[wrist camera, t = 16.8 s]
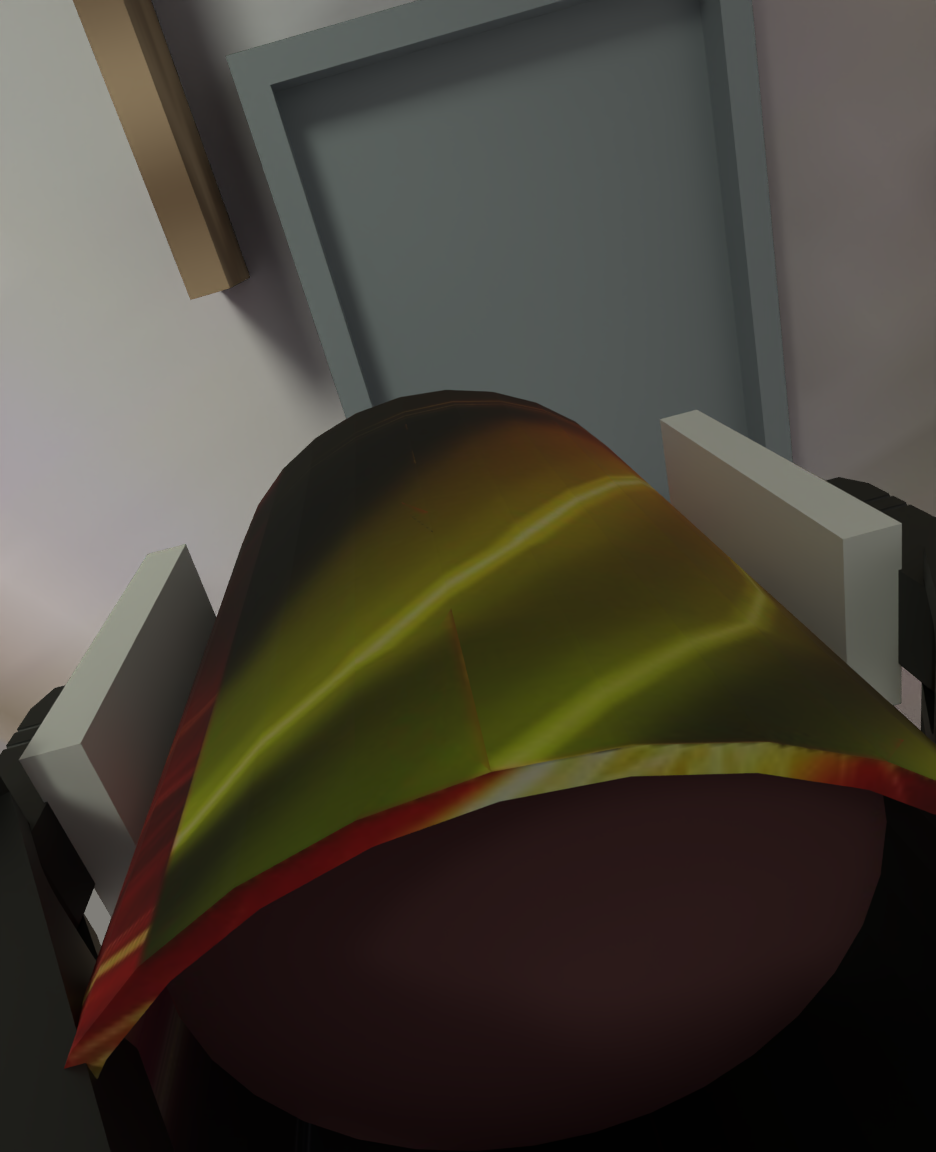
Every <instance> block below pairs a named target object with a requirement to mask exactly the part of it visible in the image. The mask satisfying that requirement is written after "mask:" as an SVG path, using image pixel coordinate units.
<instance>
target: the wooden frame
mask: <svg viewBox="0 0 936 1152" xmlns="http://www.w3.org/2000/svg"><path fill="white" fill-rule="evenodd" d="M73 2H74V4H75V7H76V10H77V12H78V15H79V17H80V20H81V22H82V25H83V27H84V30H85V32H86V35H87V38H88V40H89V43H90V45H91V48H92V50H93V53H94V55H95V58H96V60H97V63H98V66H99V68H100V71H101V73H102V76H103V78H104V81H105V83H106V86H107V88H108V91H109V93H110V96H111V99H112V101H113V104H114V106H115V109H116V111H117V114H118V116H119V119H120V121H121V124H122V127H123V129H124V132H125V134H126V137H127V139H128V142H129V144H130V147H131V149H132V152H133V155H134V157H135V160H136V162H137V165H138V167H139V170H140V172H141V175H142V177H143V180H144V183H145V185H146V188H147V190H148V193H149V195H150V198H151V200H152V203H153V205H154V208H155V211H156V213H157V216H158V218H159V221H160V223H161V226H162V228H163V231H164V233H165V236H166V238H167V241H168V244H169V246H170V249H171V251H172V254H173V256H174V259H175V261H176V264H177V266H178V269H179V272H180V274H181V277H182V279H183V282H184V284H185V287H186V289H187V292H188V294H189V297H190V300H191V299H195V298H198V297H202V296H205V295H209V294H212V293H215V292H219V291H222V290H226V289H229V288H231V287H233V286H235V285H237V284H239V283H241V282H242V281H244V280H246V279H248V278H250V275H249V273H248V270H247V267H246V264H245V261H244V259H243V256H242V253H241V250H240V247H239V245H238V242H237V239H236V236H235V233H234V231H233V228H232V225H231V222H230V220H229V217H228V214H227V211H226V208H225V206H224V203H223V200H222V197H221V194H220V192H219V189H218V186H217V183H216V180H215V178H214V175H213V172H212V169H211V166H210V164H209V161H208V158H207V155H206V153H205V150H204V147H203V144H202V141H201V139H200V136H199V133H198V130H197V127H196V125H195V122H194V119H193V116H192V113H191V111H190V108H189V105H188V102H187V99H186V97H185V94H184V91H183V88H182V85H181V83H180V80H179V77H178V74H177V72H176V69H175V66H174V63H173V60H172V58H171V55H170V52H169V49H168V46H167V44H166V41H165V38H164V35H163V32H162V30H161V27H160V24H159V21H158V18H157V16H156V13H155V10H154V7H153V4H152V2H151V0H73Z"/></svg>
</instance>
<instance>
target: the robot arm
mask: <svg viewBox="0 0 936 1152" xmlns="http://www.w3.org/2000/svg"><path fill="white" fill-rule="evenodd" d="M660 425H661V432H662V440H663V448H664V456H665V463H666V471H667V479H668V486H669V494H670V502H671V505H672V506H674V507H675V508H676V509H677V510H678V511H679V512H680V513H681V514H682V515H683V516H685V517H686V518H687V519H688V520H689V521H690V522H691V523H692V524H693V525H695V526H696V527H697V528H698V529H699V530H700V531H701V532H702V533H703V534H704V535H706V536H707V537H708V538H709V539H710V540H711V541H712V542H713V543H714V544H715V545H717V546H718V547H719V548H720V549H721V550H722V551H723V552H724V553H725V554H726V555H728V556H729V557H730V558H731V559H732V560H733V561H734V562H735V563H736V564H738V565H739V566H740V567H741V568H742V569H743V570H744V571H745V572H746V573H747V574H749V575H750V576H751V577H752V578H753V579H754V580H755V581H756V582H757V583H758V584H760V585H761V586H762V587H763V588H764V589H765V590H766V591H767V592H768V593H769V594H771V595H772V596H773V597H774V598H775V599H776V600H777V601H778V602H779V603H780V604H782V605H783V606H784V607H785V608H786V609H787V610H788V611H789V612H790V613H792V614H793V615H794V616H795V617H796V618H797V619H798V620H799V621H800V622H801V623H803V624H804V625H805V626H806V627H807V628H808V629H809V630H810V631H811V632H812V633H814V634H815V635H816V636H817V637H818V638H819V639H820V640H821V641H822V642H823V643H825V644H826V645H827V646H828V647H829V648H830V649H831V650H832V651H833V652H835V653H836V654H837V655H838V656H839V657H840V658H841V659H842V660H843V661H844V662H846V663H847V664H848V665H849V666H850V667H851V668H852V669H853V670H854V671H855V672H857V673H858V674H859V675H860V676H861V677H862V678H863V679H864V680H865V681H866V682H868V683H869V684H870V685H871V686H872V687H873V688H874V689H875V690H876V691H877V692H879V693H880V694H881V695H882V696H883V697H884V698H885V699H886V700H887V701H889V702H890V703H891V704H892V705H893V706H894V705H897V704H901V666H902V667H904V668H905V669H906V670H907V671H908V672H910V673H911V674H912V675H913V676H915V677H916V678H917V679H918V680H920V681H921V682H922V699H921V731H922V732H923V733H924V734H925V735H926V736H927V737H928V738H929V739H930V740H932V741H933V742H934V743H935V744H936V518H935V517H933V516H931V515H930V514H928V513H926V512H924V511H922V510H920V509H918V508H916V507H914V506H912V505H908V506H907V504H906V502H904V501H902V500H900V499H898V498H896V497H894V496H891V497H890V495H889V493H887V492H885V491H883V490H881V489H879V488H877V487H875V486H873V485H871V484H869V483H865V482H860V481H855V480H850V479H845V478H840V477H838V478H834V479H830V480H826V481H824V480H823V479H821V478H819V477H817V476H815V475H814V474H812V473H810V472H808V471H806V470H805V469H803V468H801V467H799V466H797V465H796V464H794V463H792V462H790V461H788V460H787V459H785V458H783V457H781V456H779V455H778V454H776V453H774V452H772V451H770V450H769V449H767V448H765V447H763V446H761V445H760V444H758V443H756V442H754V441H752V440H751V439H749V438H747V437H745V436H743V435H742V434H740V433H738V432H736V431H734V430H733V429H731V428H729V427H727V426H725V425H724V424H722V423H720V422H718V421H716V420H715V419H713V418H711V417H709V416H707V415H706V414H704V413H702V412H700V411H698V410H693V411H690V412H686V413H682V414H678V415H674V416H671V417H667V418H663V419H660ZM215 620H216V616H215V613H214V611H213V609H212V606H211V604H210V601H209V599H208V597H207V594H206V592H205V589H204V587H203V585H202V582H201V580H200V577H199V575H198V573H197V570H196V568H195V565H194V563H193V561H192V558H191V556H190V553H189V551H188V549H187V546H186V544H184V545H180V546H177V547H173V548H169V549H165V550H161V551H158V552H154V553H150V554H147V556H146V558H145V559H144V561H143V562H142V564H141V566H140V567H139V569H138V570H137V572H136V574H135V575H134V577H133V578H132V580H131V582H130V583H129V585H128V586H127V588H126V590H125V591H124V593H123V594H122V596H121V598H120V599H119V601H118V602H117V604H116V606H115V607H114V609H113V610H112V612H111V614H110V615H109V617H108V618H107V620H106V622H105V623H104V625H103V626H102V628H101V630H100V631H99V633H98V634H97V636H96V637H95V639H94V641H93V642H92V644H91V645H90V647H89V649H88V650H87V652H86V653H85V655H84V657H83V658H82V660H81V661H80V663H79V665H78V666H77V668H76V669H75V671H74V673H73V674H72V676H71V677H70V679H69V681H68V682H67V684H66V685H65V686H61V687H57V688H54V689H53V690H52V691H51V692H50V693H49V694H47V695H46V696H45V697H44V698H43V699H42V700H40V701H39V702H38V703H37V704H36V705H35V706H34V707H32V708H31V709H30V711H29V712H28V714H27V715H26V717H25V718H24V720H23V721H22V723H21V724H20V726H19V727H18V729H17V730H18V732H17V733H14V735H13V736H12V738H11V739H10V741H9V742H8V744H7V745H6V746H7V749H5V750H3V751H2V753H1V754H0V1152H175V1151H174V1148H173V1146H172V1143H171V1140H170V1137H169V1134H168V1132H167V1129H166V1126H165V1123H164V1120H163V1118H162V1115H161V1112H160V1109H159V1107H158V1104H157V1101H156V1098H155V1095H154V1093H153V1090H152V1087H151V1084H150V1082H149V1079H148V1076H147V1073H146V1070H145V1068H144V1065H143V1062H142V1059H141V1056H140V1054H139V1051H138V1049H137V1047H135V1046H134V1045H133V1044H132V1043H130V1042H129V1041H128V1040H127V1039H125V1038H123V1040H122V1041H121V1042H120V1043H119V1045H118V1046H117V1047H116V1048H115V1050H114V1051H113V1052H112V1053H111V1054H110V1056H109V1057H108V1058H107V1059H106V1061H105V1064H104V1066H103V1068H102V1070H101V1072H100V1074H99V1077H98V1079H96V1077H95V1076H94V1074H93V1073H92V1071H91V1070H90V1069H89V1067H88V1066H87V1064H86V1063H83V1064H79V1065H76V1066H72V1067H69V1068H65V1069H64V1067H65V1064H66V1061H67V1058H68V1055H69V1052H70V1049H71V1046H72V1044H73V1041H74V1038H75V1035H76V1032H77V1027H78V1022H79V1018H80V1013H81V1008H82V1003H83V998H84V995H85V992H86V989H87V986H88V983H89V980H90V977H91V975H92V972H93V969H94V966H95V963H96V960H97V957H98V955H99V952H100V949H101V945H100V943H99V940H98V937H97V934H96V933H95V931H94V929H93V928H92V926H91V925H90V923H89V921H88V920H87V918H86V916H85V915H84V912H85V909H86V906H87V904H88V901H89V899H90V896H91V894H92V891H93V889H94V888H95V890H96V892H97V894H98V895H99V897H100V899H101V900H102V902H103V904H104V905H105V907H106V909H107V911H108V912H109V914H110V916H111V917H112V915H113V912H114V909H115V906H116V903H117V900H118V897H119V895H120V892H121V889H122V886H123V883H124V880H125V877H126V875H127V872H128V869H129V866H130V863H131V860H132V857H133V855H134V852H135V849H136V846H137V843H138V840H139V837H140V835H141V832H142V829H143V826H144V823H145V820H146V817H147V815H148V812H149V809H150V806H151V803H152V800H153V797H154V795H155V792H156V789H157V786H158V783H159V780H160V778H161V775H162V772H163V769H164V766H165V763H166V760H167V758H168V755H169V752H170V749H171V746H172V743H173V740H174V738H175V735H176V732H177V729H178V726H179V723H180V720H181V718H182V715H183V712H184V709H185V706H186V703H187V700H188V698H189V695H190V692H191V689H192V686H193V683H194V680H195V678H196V675H197V672H198V669H199V666H200V663H201V660H202V658H203V655H204V652H205V649H206V646H207V643H208V640H209V638H210V635H211V632H212V629H213V626H214V623H215Z"/></svg>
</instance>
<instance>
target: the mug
mask: <svg viewBox="0 0 936 1152" xmlns="http://www.w3.org/2000/svg"><path fill="white" fill-rule="evenodd" d="M123 1038H125V1039H127V1040H128V1041H129V1042H130V1043H132V1044H133V1045H134V1046H135V1047H137V1049H138V1051H139V1054H140V1056H141V1059H142V1062H143V1065H144V1068H145V1070H146V1073H147V1076H148V1079H149V1082H150V1084H151V1087H152V1090H153V1093H154V1095H155V1098H156V1101H157V1104H158V1107H159V1109H160V1112H161V1115H162V1118H163V1120H164V1123H165V1126H166V1129H167V1132H168V1134H169V1137H170V1140H171V1143H172V1146H173V1148H174V1151H175V1152H936V744H935V743H934V742H933V741H932V740H930V739H929V738H928V737H927V736H926V735H925V734H924V733H923V732H922V731H920V730H919V729H918V728H917V727H916V726H915V725H914V724H913V723H912V722H911V721H909V720H908V719H907V718H906V717H905V716H904V715H903V714H902V713H901V712H900V711H898V710H897V709H896V708H895V707H894V706H893V705H892V704H891V703H890V702H889V701H887V700H886V699H885V698H884V697H883V696H882V695H881V694H880V693H879V692H877V691H876V690H875V689H874V688H873V687H872V686H871V685H870V684H869V683H868V682H866V681H865V680H864V679H863V678H862V677H861V676H860V675H859V674H858V673H857V672H855V671H854V670H853V669H852V668H851V667H850V666H849V665H848V664H847V663H846V662H844V661H843V660H842V659H841V658H840V657H839V656H838V655H837V654H836V653H835V652H833V651H832V650H831V649H830V648H829V647H828V646H827V645H826V644H825V643H823V642H822V641H821V640H820V639H819V638H818V637H817V636H816V635H815V634H814V633H812V632H811V631H810V630H809V629H808V628H807V627H806V626H805V625H804V624H803V623H801V622H800V621H799V620H798V619H797V618H796V617H795V616H794V615H793V614H792V613H790V612H789V611H788V610H787V609H786V608H785V607H784V606H783V605H782V604H780V603H779V602H778V601H777V600H776V599H775V598H774V597H773V596H772V595H771V594H769V593H768V592H767V591H766V590H765V589H764V588H763V587H762V586H761V585H760V584H758V583H757V582H756V581H755V580H754V579H753V578H752V577H751V576H750V575H749V574H747V573H746V572H745V571H744V570H743V569H742V568H741V567H740V566H739V565H738V564H736V563H735V562H734V561H733V560H732V559H731V558H730V557H729V556H728V555H726V554H725V553H724V552H723V551H722V550H721V549H720V548H719V547H718V546H717V545H715V544H714V543H713V542H712V541H711V540H710V539H709V538H708V537H707V536H706V535H704V534H703V533H702V532H701V531H700V530H699V529H698V528H697V527H696V526H695V525H693V524H692V523H691V522H690V521H689V520H688V519H687V518H686V517H685V516H683V515H682V514H681V513H680V512H679V511H678V510H677V509H676V508H675V507H674V506H672V505H671V504H670V503H669V502H668V501H667V500H666V499H665V498H664V497H663V496H661V495H660V494H659V493H658V492H657V491H656V490H655V489H654V488H653V487H652V486H650V485H649V484H648V483H647V482H646V481H645V480H644V479H643V478H642V477H641V476H639V475H638V474H637V473H636V472H635V471H634V470H633V469H632V468H631V467H629V466H628V465H627V464H626V463H625V462H624V461H623V460H622V459H621V458H620V457H618V456H617V455H616V454H615V453H614V452H613V451H612V450H611V449H610V448H609V447H607V446H606V445H605V444H603V443H602V442H601V441H600V440H598V439H597V438H596V437H595V436H593V435H592V434H591V433H589V432H588V431H587V430H586V429H584V428H583V427H582V426H580V425H579V424H578V423H577V422H575V421H573V420H571V419H569V418H567V417H565V416H563V415H561V414H559V413H557V412H555V411H553V410H551V409H549V408H546V407H544V406H542V405H540V404H538V403H536V402H532V401H528V400H524V399H520V398H516V397H512V396H508V395H504V394H500V393H496V392H489V391H465V390H441V391H435V392H428V393H422V394H416V395H410V396H403V397H399V398H396V399H393V400H390V401H388V402H385V403H382V404H380V405H377V406H374V407H372V408H369V409H366V410H363V411H361V412H358V413H355V414H354V415H352V416H351V417H349V418H347V419H346V420H344V421H342V422H341V423H339V424H338V425H336V426H334V427H333V428H331V429H330V430H328V431H326V432H325V433H323V434H321V435H320V436H318V437H317V438H315V439H314V440H313V441H312V442H311V443H310V444H309V445H308V446H307V447H306V448H305V449H304V450H303V451H302V452H301V453H299V454H298V455H297V456H296V457H295V458H294V459H293V460H292V461H291V462H290V463H289V464H288V465H287V466H286V467H285V468H284V469H283V470H282V471H281V473H280V474H279V476H278V477H277V479H276V480H275V481H274V483H273V484H272V486H271V487H270V489H269V490H268V492H267V493H266V494H265V496H264V497H263V499H262V500H261V502H260V503H259V505H258V507H257V509H256V512H255V514H254V517H253V519H252V521H251V524H250V526H249V529H248V531H247V534H246V536H245V539H244V541H243V543H242V546H241V549H240V552H239V555H238V558H237V560H236V563H235V566H234V569H233V572H232V575H231V578H230V580H229V583H228V586H227V589H226V592H225V595H224V598H223V600H222V603H221V606H220V609H219V612H218V615H217V618H216V620H215V623H214V626H213V629H212V632H211V635H210V638H209V640H208V643H207V646H206V649H205V652H204V655H203V658H202V660H201V663H200V666H199V669H198V672H197V675H196V678H195V680H194V683H193V686H192V689H191V692H190V695H189V698H188V700H187V703H186V706H185V709H184V712H183V715H182V718H181V720H180V723H179V726H178V729H177V732H176V735H175V738H174V740H173V743H172V746H171V749H170V752H169V755H168V758H167V760H166V763H165V766H164V769H163V772H162V775H161V778H160V780H159V783H158V786H157V789H156V792H155V795H154V797H153V800H152V803H151V806H150V809H149V812H148V815H147V817H146V820H145V823H144V826H143V829H142V832H141V835H140V837H139V840H138V843H137V846H136V849H135V852H134V855H133V857H132V860H131V863H130V866H129V869H128V872H127V875H126V877H125V880H124V883H123V886H122V889H121V892H120V895H119V897H118V900H117V903H116V906H115V909H114V912H113V915H112V917H111V920H110V923H109V926H108V929H107V932H106V935H105V938H104V940H103V943H102V946H101V949H100V952H99V955H98V957H97V960H96V963H95V966H94V969H93V972H92V975H91V977H90V980H89V983H88V986H87V989H86V992H85V995H84V998H83V1003H82V1008H81V1013H80V1018H79V1022H78V1027H77V1032H76V1035H75V1038H74V1041H73V1044H72V1046H71V1049H70V1052H69V1055H68V1058H67V1061H66V1064H65V1067H64V1069H65V1068H69V1067H72V1066H76V1065H79V1064H83V1063H86V1064H87V1066H88V1067H89V1069H90V1070H91V1071H92V1073H93V1074H94V1076H95V1077H96V1079H98V1077H99V1074H100V1072H101V1070H102V1068H103V1066H104V1064H105V1061H106V1059H107V1058H108V1057H109V1056H110V1054H111V1053H112V1052H113V1051H114V1050H115V1048H116V1047H117V1046H118V1045H119V1043H120V1042H121V1041H122V1040H123Z"/></svg>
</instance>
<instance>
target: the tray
mask: <svg viewBox="0 0 936 1152" xmlns="http://www.w3.org/2000/svg"><path fill="white" fill-rule="evenodd" d="M226 59H227V62H228V65H229V68H230V71H231V74H232V77H233V80H234V83H235V86H236V89H237V92H238V95H239V98H240V101H241V104H242V107H243V110H244V113H245V116H246V119H247V122H248V125H249V128H250V131H251V134H252V137H253V140H254V143H255V146H256V149H257V152H258V155H259V158H260V161H261V164H262V167H263V170H264V173H265V176H266V179H267V182H268V185H269V188H270V191H271V194H272V197H273V200H274V203H275V206H276V209H277V212H278V215H279V218H280V221H281V224H282V227H283V230H284V233H285V236H286V239H287V242H288V245H289V248H290V251H291V254H292V257H293V260H294V263H295V266H296V269H297V272H298V275H299V278H300V281H301V284H302V287H303V290H304V293H305V296H306V299H307V302H308V305H309V308H310V311H311V314H312V317H313V320H314V323H315V326H316V329H317V332H318V335H319V338H320V341H321V344H322V347H323V350H324V353H325V356H326V359H327V362H328V365H329V368H330V371H331V374H332V377H333V380H334V383H335V386H336V389H337V392H338V395H339V398H340V401H341V404H342V407H343V410H344V413H345V416H346V419H347V418H349V417H351V416H352V415H354V414H355V413H358V412H361V411H363V410H366V409H369V408H372V407H374V406H377V405H380V404H382V403H385V402H388V401H390V400H393V399H396V398H399V397H403V396H410V395H416V394H422V393H428V392H435V391H441V390H465V391H489V392H496V393H500V394H504V395H508V396H512V397H516V398H520V399H524V400H528V401H532V402H536V403H538V404H540V405H542V406H544V407H546V408H549V409H551V410H553V411H555V412H557V413H559V414H561V415H563V416H565V417H567V418H569V419H571V420H573V421H575V422H577V423H578V424H579V425H580V426H582V427H583V428H584V429H586V430H587V431H588V432H589V433H591V434H592V435H593V436H595V437H596V438H597V439H598V440H600V441H601V442H602V443H603V444H605V445H606V446H607V447H609V448H610V449H611V450H612V451H613V452H614V453H615V454H616V455H617V456H618V457H620V458H621V459H622V460H623V461H624V462H625V463H626V464H627V465H628V466H629V467H631V468H632V469H633V470H634V471H635V472H636V473H637V474H638V475H639V476H641V477H642V478H643V479H644V480H645V481H646V482H647V483H648V484H649V485H650V486H652V487H653V488H654V489H655V490H656V491H657V492H658V493H659V494H660V495H661V496H663V497H664V498H665V499H666V500H667V501H668V502H669V503H670V504H671V502H670V494H669V486H668V479H667V471H666V463H665V456H664V448H663V440H662V432H661V425H660V419H663V418H667V417H671V416H674V415H678V414H682V413H686V412H690V411H693V410H698V411H700V412H702V413H704V414H706V415H707V416H709V417H711V418H713V419H715V420H716V421H718V422H720V423H722V424H724V425H725V426H727V427H729V428H731V429H733V430H734V431H736V432H738V433H740V434H742V435H743V436H745V437H747V438H749V439H751V440H752V441H754V442H756V443H758V444H760V445H761V446H763V447H765V448H767V449H769V450H770V451H772V452H774V453H776V454H778V455H779V456H781V457H783V458H785V459H787V460H788V461H790V462H792V463H793V459H792V447H791V436H790V425H789V413H788V402H787V391H786V380H785V368H784V357H783V346H782V334H781V323H780V312H779V301H778V289H777V278H776V267H775V255H774V244H773V233H772V222H771V210H770V199H769V188H768V176H767V165H766V154H765V143H764V131H763V120H762V109H761V97H760V86H759V75H758V64H757V52H756V41H755V30H754V18H753V7H752V0H418V1H414V2H411V3H407V4H404V5H400V6H397V7H393V8H390V9H387V10H383V11H380V12H376V13H373V14H369V15H366V16H362V17H359V18H355V19H352V20H348V21H345V22H342V23H338V24H335V25H331V26H328V27H324V28H321V29H317V30H314V31H310V32H307V33H303V34H300V35H297V36H293V37H290V38H286V39H283V40H279V41H276V42H272V43H269V44H265V45H262V46H258V47H255V48H251V49H248V50H245V51H241V52H238V53H234V54H231V55H227V56H226Z"/></svg>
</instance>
